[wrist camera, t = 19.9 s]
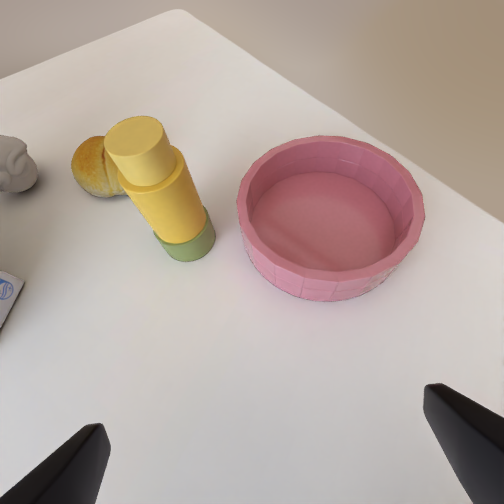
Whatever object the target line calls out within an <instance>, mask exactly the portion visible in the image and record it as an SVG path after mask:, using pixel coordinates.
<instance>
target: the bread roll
mask: <svg viewBox="0 0 504 504" xmlns="http://www.w3.org/2000/svg"><path fill="white" fill-rule="evenodd" d="M104 139H105V136H94V137H91V138H89V139H87V140H86V141H84V142H83V143H82V144H81V145H80V146H79V147H78V148H77V150H76V151H75V153H74V155H73V158H72V161H71V169H72V173H73V175H74V178H75V179H76V181H77V182H78V184H79V185H80V186H81V187H82V188H83V189H84V190H86V191H87V192H88V193H90V194H92V195H94V196H97V197H113V196H114V195H127V193H126V192H125V190H124V189H123V188H122V186H121V185H120V183H119V181H118V177H117V173H118V167H117V165H116V164H115V162H114V161H113V160H112V158H111V157H110V155H109V154H108V152H107V151H106V149H105V147H104Z"/></svg>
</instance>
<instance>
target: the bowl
mask: <svg viewBox="0 0 504 504" xmlns="http://www.w3.org/2000/svg"><path fill="white" fill-rule="evenodd" d="M236 201H237V202H236V203H237V210H238V217H239V224H240V228H241V233H242V237H243V242H244V246H245V249H246V250H247V253H248V255H249V257H250V260H251V261H252V263H253V264H254V266H255V267H256V269H257V270H258V271H259V272H260V273H261V274H262V276H263V277H265V278H266V279H267V280H268V281H269V282H270V283H272V284H273V285H275V286H276V287H278V288H279V289H281V290H283V291H285V292H287V293H289V294H292V295H294V296H297V297H300V298H304V299H308V300H314V301H340V300H347V299H350V298H354V297H357V296H360V295H362V294H364V293H367V292H369V291H370V290H372V289H373V288H375V287H377V286H378V285H379V284H381V283H382V282H383V281H384V280H385V279H386V278H387V277H388V276H389V274H390V273H391V272H392V271H393V270H394V269H395V268H396V266H397V265H398V264H399V263H400V262H401V261H402V260H403V259H404V257H405V256H406V255H407V254H408V253H409V252H410V251H411V249H412V248H413V247H414V246H415V245H416V244H417V242H418V240H419V237H420V233H421V230H422V227H423V223H424V220H425V211H424V204H423V197H422V194H421V191H420V189H419V188H418V186H417V184H416V182H415V181H414V179H413V177H412V175H411V174H410V173H409V171H408V170H407V169H406V168H404V167H403V166H402V165H401V164H400V163H399V162H398V161H397V160H396V159H395V158H394V157H392V156H391V155H390V154H388V153H386V152H384V151H382V150H380V149H378V148H376V147H374V146H373V145H371V144H368V143H365V142H361V141H358V140H354V139H350V138H346V137H341V136H320V135H318V136H312V137H306V138H300V139H294V140H292V141H289V142H287V143H284V144H282V145H280V146H277V147H275V148H273V149H271V150H269V151H268V152H267V153H266V154H264V155H263V156H262V157H260V158H259V159H258V160H256V161H255V162H254V163H253V165H252V166H251V167H250V169H249V170H248V172H247V173H246V175H245V176H244V178H243V179H242V181H241V185H240V189H239V193H238V196H237V200H236Z"/></svg>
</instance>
